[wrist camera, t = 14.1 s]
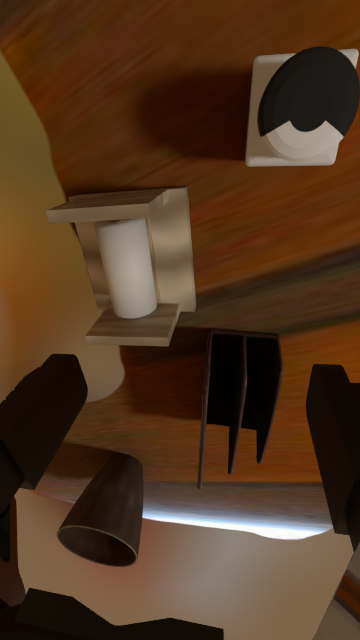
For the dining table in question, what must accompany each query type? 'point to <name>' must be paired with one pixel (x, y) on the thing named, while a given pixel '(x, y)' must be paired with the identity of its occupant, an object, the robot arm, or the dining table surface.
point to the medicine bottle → (300, 106)
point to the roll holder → (165, 252)
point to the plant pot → (108, 515)
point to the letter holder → (240, 387)
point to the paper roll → (127, 266)
